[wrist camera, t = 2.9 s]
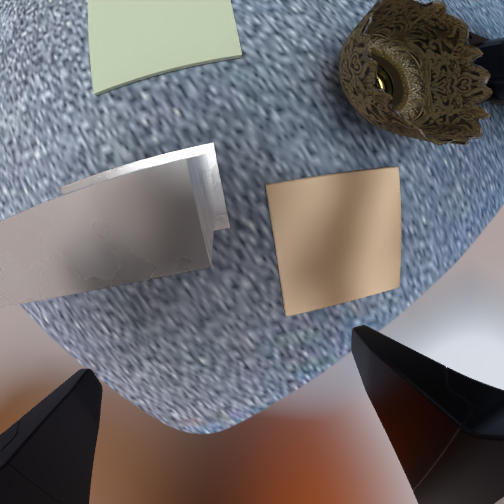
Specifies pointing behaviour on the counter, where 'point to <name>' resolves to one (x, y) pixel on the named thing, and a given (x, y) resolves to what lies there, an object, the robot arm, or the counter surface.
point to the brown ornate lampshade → (415, 72)
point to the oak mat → (336, 236)
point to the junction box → (116, 228)
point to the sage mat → (156, 38)
